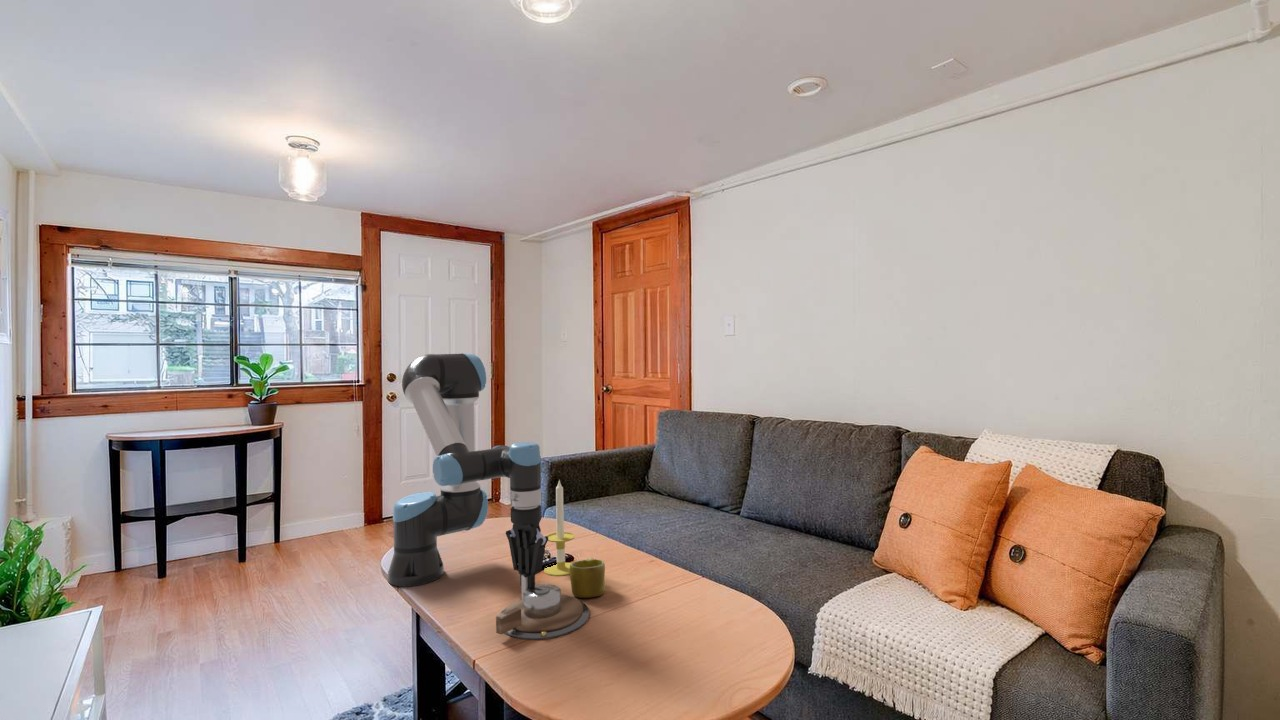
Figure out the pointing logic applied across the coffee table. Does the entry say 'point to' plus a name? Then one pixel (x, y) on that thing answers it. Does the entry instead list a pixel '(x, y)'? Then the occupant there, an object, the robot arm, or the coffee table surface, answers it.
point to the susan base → (551, 634)
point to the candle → (559, 538)
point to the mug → (587, 578)
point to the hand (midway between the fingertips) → (527, 600)
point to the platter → (521, 622)
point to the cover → (542, 601)
